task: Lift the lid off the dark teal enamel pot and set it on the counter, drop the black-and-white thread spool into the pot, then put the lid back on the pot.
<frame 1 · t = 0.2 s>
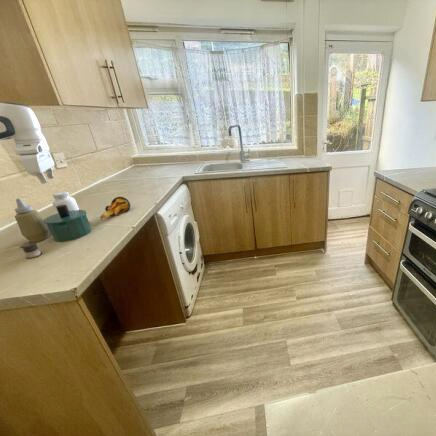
hand: (48, 180, 103), 22 cm above the countertop, tool pointing down, fingers open, 8 cm apart
squeeze bottle: (40, 239, 103), on the countertop
pill bottle: (73, 223, 118), on the countertop
chicken drumstick: (117, 216, 125), on the countertop
pot: (73, 235, 105), on the countertop
thread spool: (34, 256, 90), on the countertop
pot lid: (66, 217, 102), point 8 cm above the countertop, touching pot
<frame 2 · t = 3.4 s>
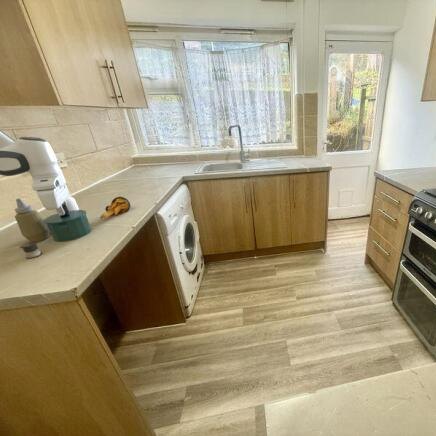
hand: (64, 212, 101), 10 cm above the countertop, tool pointing down, fingers closed on pot lid, 3 cm apart
pot lid: (66, 217, 102), point 9 cm above the countertop, touching gripper, pot
everything else where it was.
when the fingers open (2 cm above the countertop, at t = 12.4 s): pot lid stays where it is, point 1 cm above the countertop.
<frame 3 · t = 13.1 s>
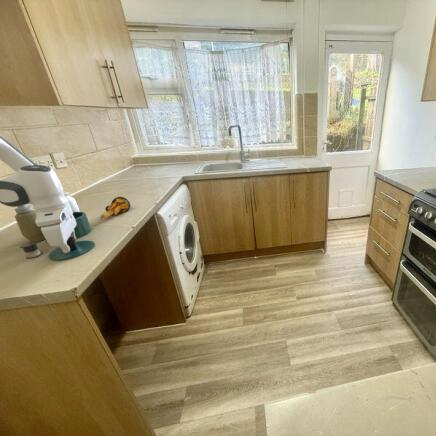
hand: (70, 246, 91), 3 cm above the countertop, tool pointing down, fingers open, 8 cm apart
pot lid: (73, 250, 92), point 1 cm above the countertop
everything else where it was.
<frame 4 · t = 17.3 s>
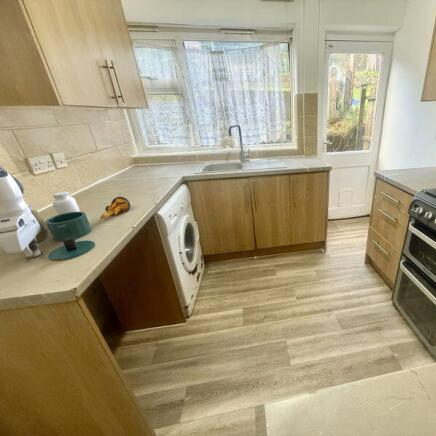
hand: (32, 252, 89), 2 cm above the countertop, tool pointing down, fingers closed on thread spool, 3 cm apart
thread spool: (34, 256, 90), on the countertop, touching gripper
everything else where it was.
when the fingers open (8 cm above the countertop, at t = 24.3 s): thread spool drops 4 cm and tips over, resting on pot.
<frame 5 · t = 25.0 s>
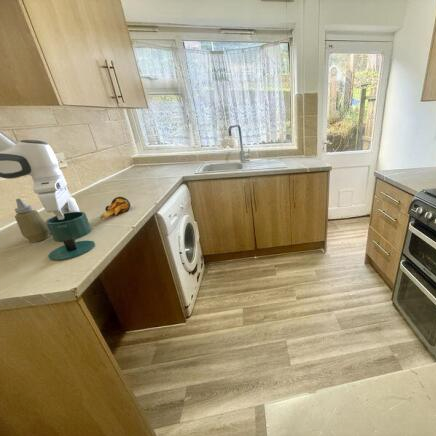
hand: (64, 215, 101), 9 cm above the countertop, tool pointing down, fingers open, 8 cm apart
thread spool: (69, 231, 102), point 3 cm above the countertop, tilted 90°, touching pot
everything else where it was.
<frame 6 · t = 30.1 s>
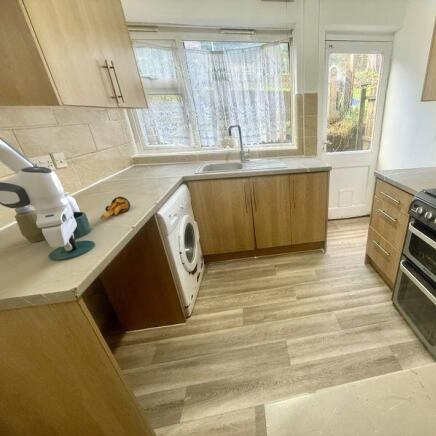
hand: (71, 247, 91), 2 cm above the countertop, tool pointing down, fingers closed on pot lid, 3 cm apart
pot lid: (73, 250, 92), point 1 cm above the countertop, touching gripper
everything else where it was.
when the fingers open (10 cm above the countertop, at t = 40.0 s): pot lid stays where it is, resting on pot.
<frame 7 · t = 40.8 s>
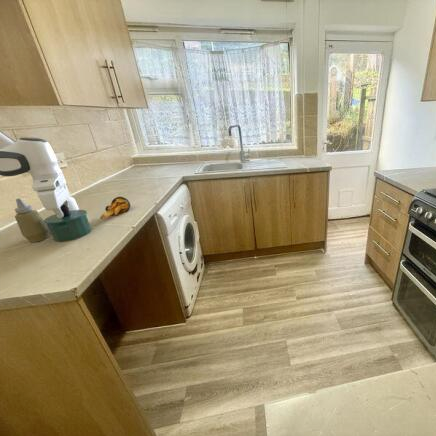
hand: (64, 213, 101), 10 cm above the countertop, tool pointing down, fingers open, 8 cm apart
pot lid: (66, 217, 102), point 8 cm above the countertop, touching pot
everything else where it was.
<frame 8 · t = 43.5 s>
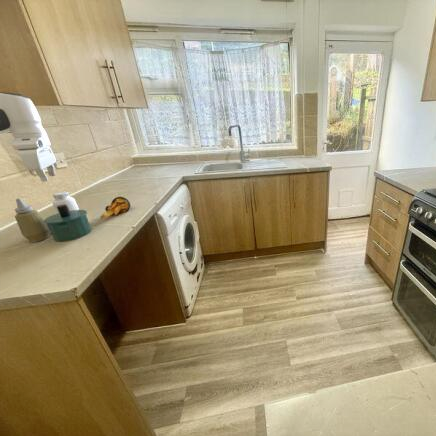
hand: (49, 178, 95), 25 cm above the countertop, tool pointing down, fingers open, 8 cm apart
nothing on the countertop moved.
at the end: thread spool inside the target area in the pot (2.4 cm from its centre), point 2.7 cm above the pot's base; pot lid 0.2 cm off-centre on the pot, point 8.5 cm above the pot's base; pot lid tilted 0° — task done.
